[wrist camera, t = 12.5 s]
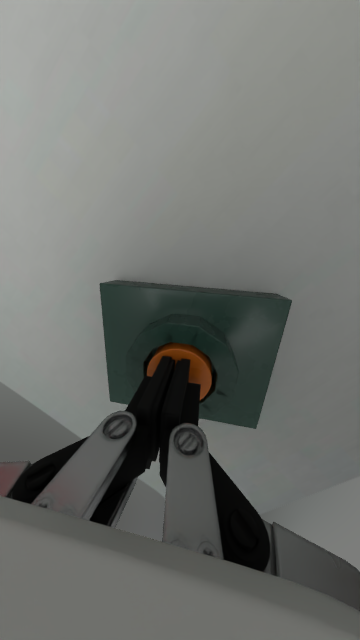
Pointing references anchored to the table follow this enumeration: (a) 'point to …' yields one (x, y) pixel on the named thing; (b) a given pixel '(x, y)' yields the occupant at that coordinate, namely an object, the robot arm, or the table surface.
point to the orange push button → (198, 363)
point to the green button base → (195, 340)
